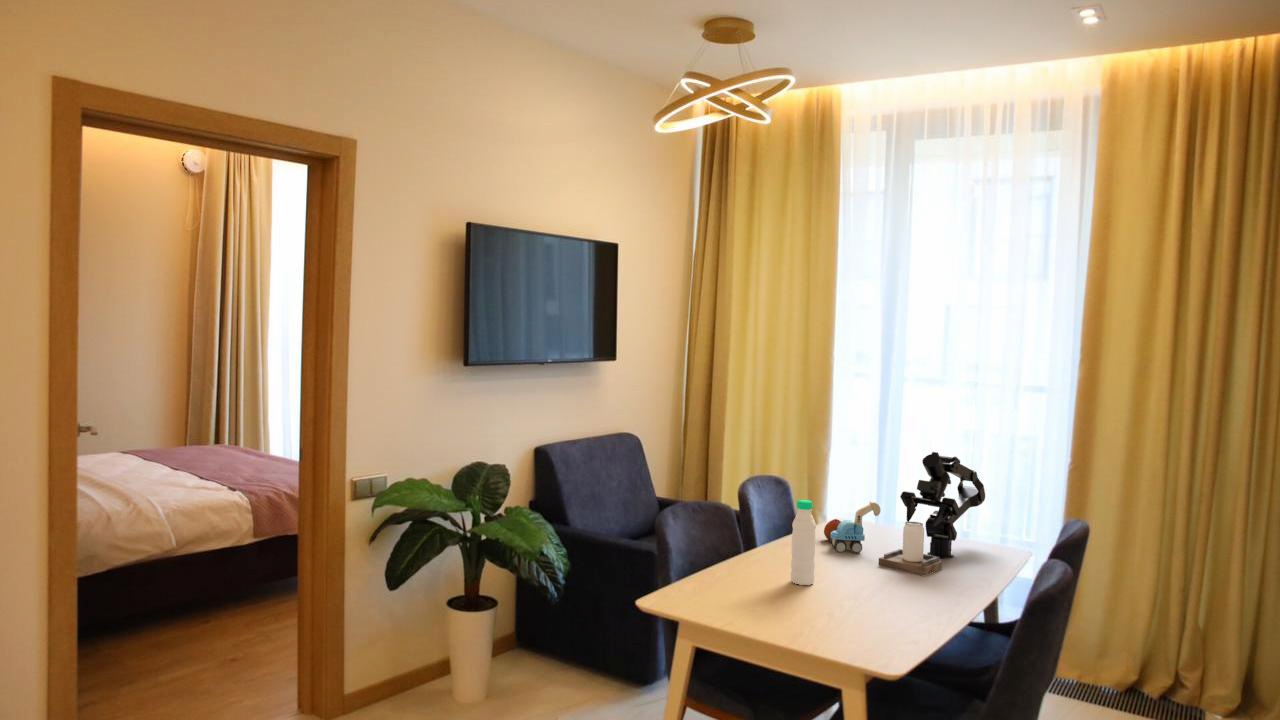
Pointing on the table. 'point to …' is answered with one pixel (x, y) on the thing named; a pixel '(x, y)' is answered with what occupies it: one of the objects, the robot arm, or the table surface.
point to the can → (913, 542)
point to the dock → (910, 563)
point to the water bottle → (803, 545)
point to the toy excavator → (852, 530)
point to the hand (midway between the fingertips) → (920, 523)
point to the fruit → (831, 528)
